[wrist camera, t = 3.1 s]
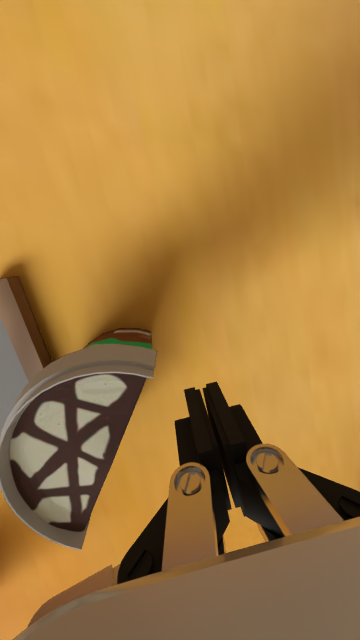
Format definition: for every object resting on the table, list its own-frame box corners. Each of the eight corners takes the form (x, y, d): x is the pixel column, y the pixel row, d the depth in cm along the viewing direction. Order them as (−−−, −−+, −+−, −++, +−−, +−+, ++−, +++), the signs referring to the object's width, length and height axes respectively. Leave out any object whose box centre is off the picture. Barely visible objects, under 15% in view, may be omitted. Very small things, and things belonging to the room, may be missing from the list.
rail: (17, 276, 19) (6, 277, 18) (89, 458, 24) (85, 471, 22) (-2, 280, 19) (-15, 282, 18) (74, 462, 24) (69, 475, 22)
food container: (86, 289, 20) (18, 321, 10) (157, 316, 21) (157, 367, 11) (45, 415, 22) (-41, 536, 13) (111, 433, 23) (78, 557, 14)
